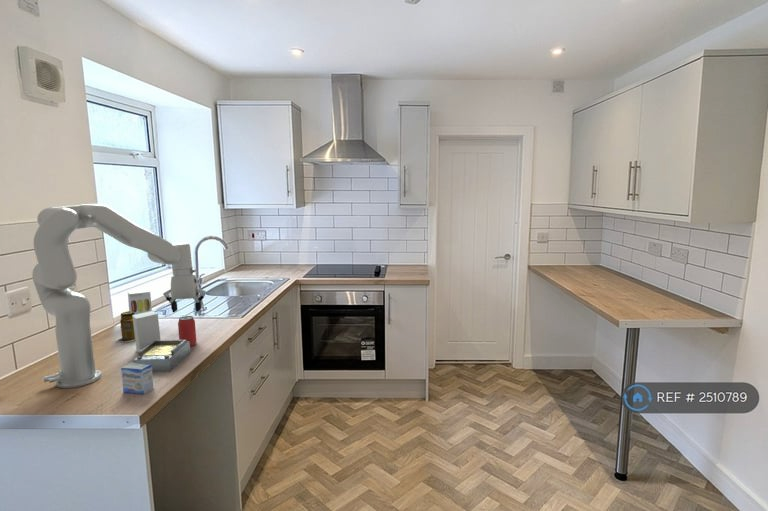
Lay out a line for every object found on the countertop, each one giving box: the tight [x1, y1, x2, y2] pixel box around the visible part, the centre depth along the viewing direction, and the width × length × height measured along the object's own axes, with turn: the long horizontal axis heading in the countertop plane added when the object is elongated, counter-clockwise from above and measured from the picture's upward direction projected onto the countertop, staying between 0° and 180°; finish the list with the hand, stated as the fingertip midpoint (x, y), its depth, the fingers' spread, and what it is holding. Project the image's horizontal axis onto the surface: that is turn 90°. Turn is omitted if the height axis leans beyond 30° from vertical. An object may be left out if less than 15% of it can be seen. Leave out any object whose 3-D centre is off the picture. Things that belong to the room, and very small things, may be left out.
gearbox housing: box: [133, 339, 191, 373], centre depth 155 cm, size 18×12×7 cm
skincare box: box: [132, 310, 162, 353], centre depth 166 cm, size 8×7×16 cm
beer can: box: [177, 315, 197, 347], centre depth 173 cm, size 7×7×12 cm
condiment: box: [114, 310, 135, 343], centre depth 179 cm, size 7×8×12 cm
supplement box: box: [127, 288, 153, 315], centre depth 201 cm, size 10×9×17 cm
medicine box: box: [120, 362, 154, 395], centre depth 132 cm, size 8×4×9 cm, turn 80°
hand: (186, 311), depth 172 cm, fingers open, 9 cm apart
